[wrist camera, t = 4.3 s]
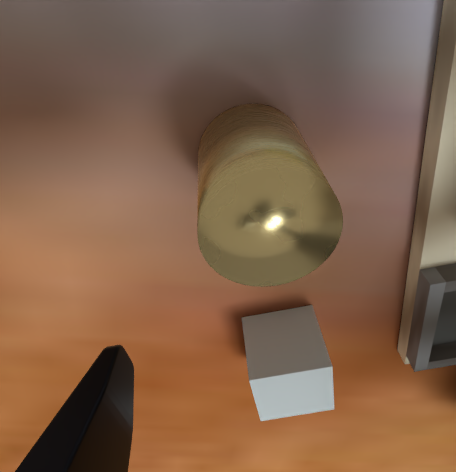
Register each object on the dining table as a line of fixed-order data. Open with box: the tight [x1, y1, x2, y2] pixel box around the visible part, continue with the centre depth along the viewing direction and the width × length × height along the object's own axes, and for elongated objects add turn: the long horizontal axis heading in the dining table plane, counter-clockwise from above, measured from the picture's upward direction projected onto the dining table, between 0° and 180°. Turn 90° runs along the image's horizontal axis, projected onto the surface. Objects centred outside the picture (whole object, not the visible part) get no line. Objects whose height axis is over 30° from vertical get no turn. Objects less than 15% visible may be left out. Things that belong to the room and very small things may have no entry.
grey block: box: [242, 305, 334, 421], centre depth 23 cm, size 4×4×4 cm
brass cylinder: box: [198, 104, 343, 287], centre depth 15 cm, size 5×5×6 cm
